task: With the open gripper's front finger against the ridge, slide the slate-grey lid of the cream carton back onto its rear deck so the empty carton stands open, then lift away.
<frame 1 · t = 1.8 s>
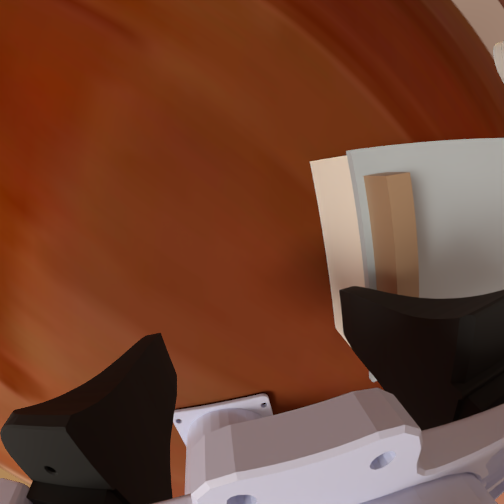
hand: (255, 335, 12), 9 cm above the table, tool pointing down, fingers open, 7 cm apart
carton: (398, 232, 21), on the table
lid: (468, 256, 14), point 8 cm above the table, slide at 0.0 cm
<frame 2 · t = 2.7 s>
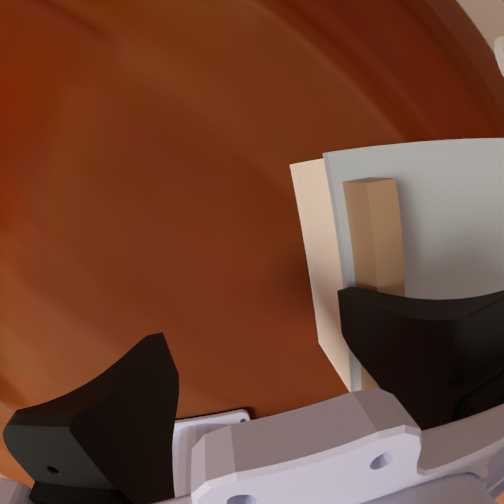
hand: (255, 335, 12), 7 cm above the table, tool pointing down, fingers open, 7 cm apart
carton: (389, 240, 20), on the table
lid: (465, 271, 12), point 8 cm above the table, slide at 0.0 cm, touching gripper
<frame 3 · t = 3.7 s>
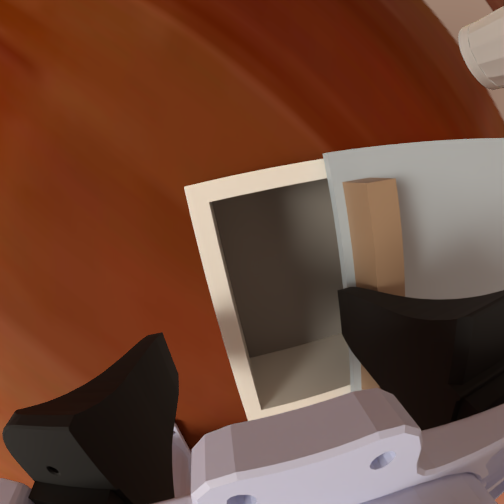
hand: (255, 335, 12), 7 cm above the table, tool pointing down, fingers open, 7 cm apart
cup: (480, 57, 17), on the table
carton: (312, 260, 19), on the table
lid: (465, 271, 12), point 8 cm above the table, slide at 5.7 cm, touching gripper
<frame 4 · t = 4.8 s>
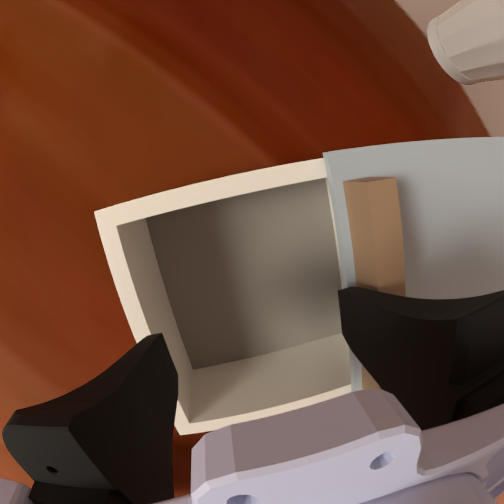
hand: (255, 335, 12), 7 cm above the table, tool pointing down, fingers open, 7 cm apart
cup: (454, 50, 17), on the table
carton: (252, 274, 19), on the table
lid: (465, 270, 12), point 8 cm above the table, slide at 9.5 cm, touching gripper
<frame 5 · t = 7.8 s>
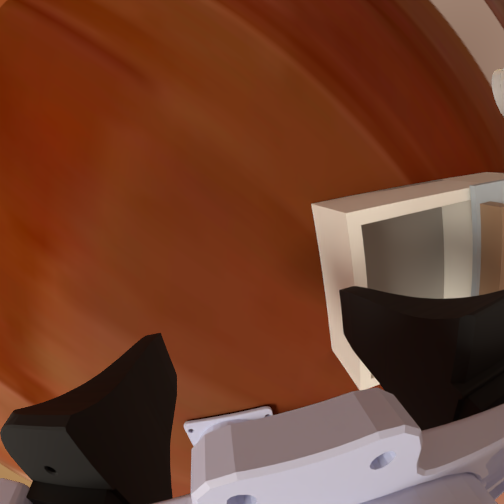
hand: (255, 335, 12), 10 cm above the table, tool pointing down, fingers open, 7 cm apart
carton: (391, 264, 23), on the table
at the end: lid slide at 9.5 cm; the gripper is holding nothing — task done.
